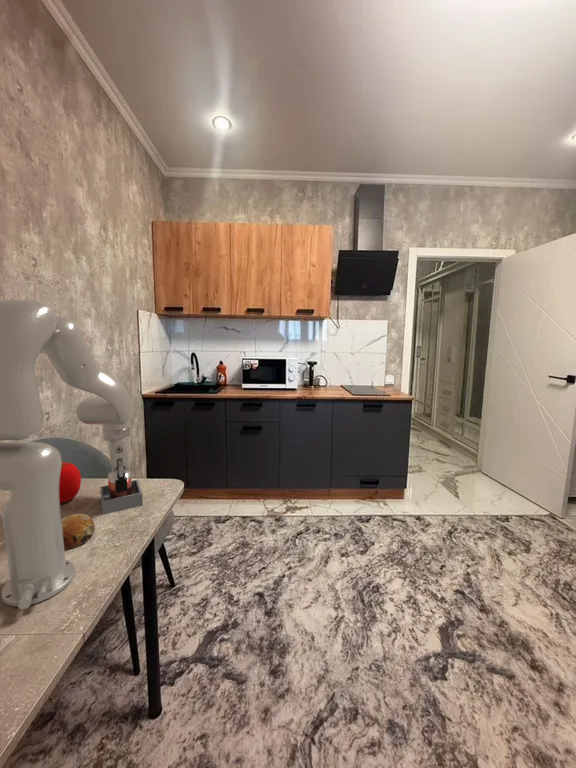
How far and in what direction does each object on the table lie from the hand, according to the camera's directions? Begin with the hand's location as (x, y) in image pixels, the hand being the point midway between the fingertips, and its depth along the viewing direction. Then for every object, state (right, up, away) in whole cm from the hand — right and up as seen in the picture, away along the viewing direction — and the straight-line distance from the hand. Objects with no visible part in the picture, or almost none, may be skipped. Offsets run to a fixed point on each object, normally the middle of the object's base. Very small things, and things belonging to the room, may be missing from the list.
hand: (120, 484), depth 105 cm
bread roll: (-3, -9, -18) cm, 20 cm away
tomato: (-20, -6, +2) cm, 20 cm away
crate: (0, -6, +1) cm, 6 cm away
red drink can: (0, -5, 0) cm, 5 cm away
